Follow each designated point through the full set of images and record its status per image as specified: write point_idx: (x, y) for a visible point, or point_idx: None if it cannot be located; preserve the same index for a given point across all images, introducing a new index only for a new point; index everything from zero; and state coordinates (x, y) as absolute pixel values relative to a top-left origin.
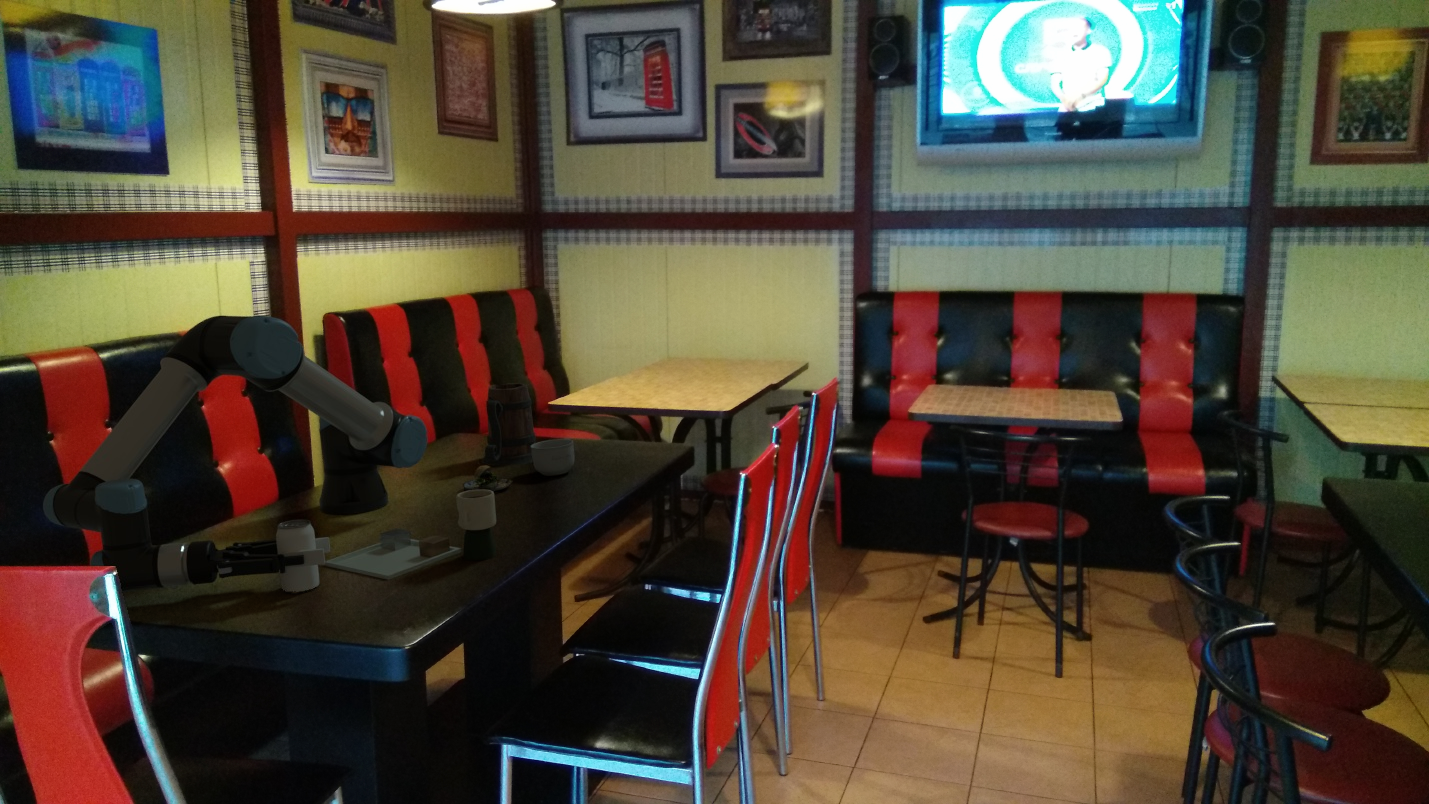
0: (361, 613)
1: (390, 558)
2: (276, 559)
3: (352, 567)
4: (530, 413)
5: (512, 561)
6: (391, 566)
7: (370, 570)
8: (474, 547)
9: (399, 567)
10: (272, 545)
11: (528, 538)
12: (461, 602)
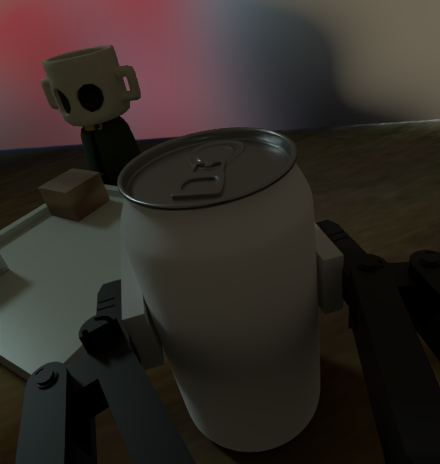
0: (410, 192)
1: (70, 257)
2: (432, 251)
3: None
4: None
5: (143, 149)
6: None
7: None
8: (133, 143)
9: None
10: (161, 403)
11: (39, 166)
12: (317, 133)
